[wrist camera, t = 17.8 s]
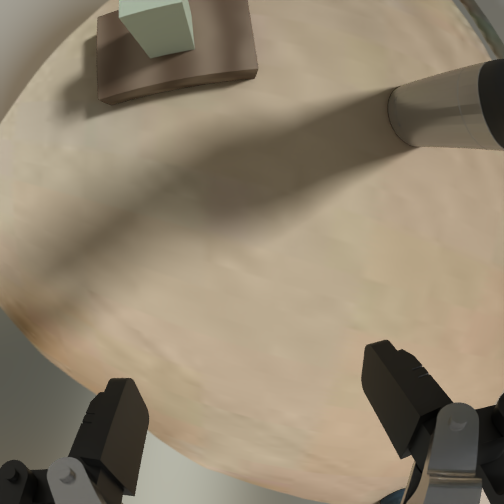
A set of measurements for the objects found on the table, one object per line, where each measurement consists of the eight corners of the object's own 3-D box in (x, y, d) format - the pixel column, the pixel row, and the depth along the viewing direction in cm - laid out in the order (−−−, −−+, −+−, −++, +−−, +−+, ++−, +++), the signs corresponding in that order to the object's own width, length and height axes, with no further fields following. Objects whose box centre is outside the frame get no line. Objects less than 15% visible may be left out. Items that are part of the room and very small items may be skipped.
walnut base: (243, 1, 27) (245, -13, 23) (254, 78, 31) (258, 68, 27) (108, 28, 26) (97, 17, 22) (110, 105, 30) (98, 99, 26)
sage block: (191, 14, 24) (179, -38, 14) (194, 49, 26) (182, 2, 15) (148, 23, 24) (120, -24, 13) (150, 58, 25) (118, 17, 15)
